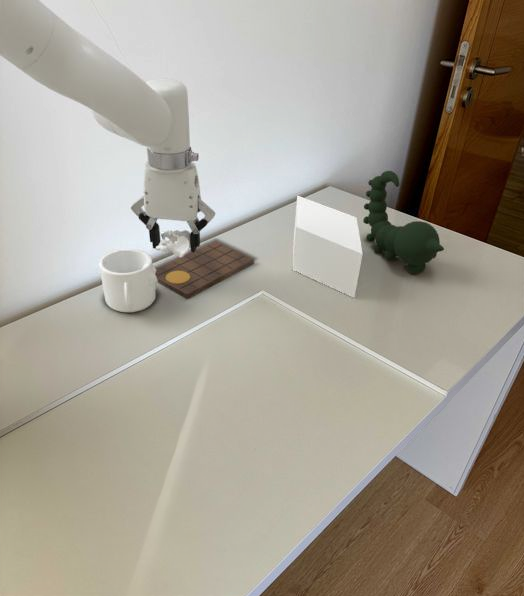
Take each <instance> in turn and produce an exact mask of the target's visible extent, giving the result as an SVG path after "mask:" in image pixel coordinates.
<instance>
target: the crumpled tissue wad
mask: <svg viewBox="0 0 524 596" xmlns="http://www.w3.org/2000/svg"><path fill="white" fill-rule="evenodd" d="M190 234H191V232H190V231H189V230H186V229H184V230H178V229H177V230H176V229H175V230H172V229H167V230H164V231H160V238H161V239H160V240H161V241H160V244H159V245H158V246H156V249H155V250H156V251H162V252H172V254H173V255H176V256H177V258H182V257H183V256H184V255H186V254H188V253H189V250H190V248H191V245H190ZM166 238H167V239H169V240H166Z"/></svg>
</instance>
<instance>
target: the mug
mask: <svg viewBox="0 0 524 596" xmlns="http://www.w3.org/2000/svg"><path fill="white" fill-rule="evenodd" d="M98 267H99V273H100V279H101V285H102V291H103V296H104V300H105V303H106V305H107V306H108V307H109V308H111V309H112V310H114V311H117V312H121V313H137V312H140V311H143V310H145V309H147V308H149V307H150V306H151V305H152V304H153V303H154V302H155V300H156V290H157V286H156V285H157V284H158V280H157V277H156V275H155V273H156V268H157V267H155V265H154V264H153V258H152V256H151V255H150V254H149V253H147V252H146V251H143V250H140V249H135V248H121V249H116V250H112V251H110V252H107V253H106V254H104V255H103V256H102V257H100V259H99V262H98Z"/></svg>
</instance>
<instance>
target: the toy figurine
mask: <svg viewBox="0 0 524 596" xmlns="http://www.w3.org/2000/svg"><path fill="white" fill-rule="evenodd" d="M390 182H392V183H393V184H394V186H395V187H397V188H398V187H400V179H399V176H398V175H397V174H396V173H395V172H394V171H392V170H386V171H383V172H381V174H380V175H377V176H375V177H373V178H372V179H368V182H367V184H368V186H370V190H367V191H366V192H365V196H366V197H367V198H369V200H370V201H369V202H368V203H367V202H366V203H365V204H363V209H364V210H367V211H368V212H369V213H368V215H367V216H365V217H364V218H363V220H362V221H363V223H364V224H366V225H369V226H370V227H371V228H370V233H367V234H366V237H365V239H366V241H367V242H369V243H372V242H374V241H375V244H376V245H375V246H374V248H373V250H374V253H376V254H378V255H380V254H382V253H383V252H384V254H383V255H384V259H385V260H386V261H388V262H391V261H395V260H396V259H397V258H398V259H399V260H400V261H401V262H403V263H404V264H405V265H406V271H407V272H408V273H409V274H413V275H416V274H420V273H422V272H424V271H425V270H426V264H428V263H430V262H431V261H432V260H433V259H436V258H437V255H438V253H439V252H443V251H444V250H445V248H444V246H442V245H441V242H440V241H441V240H440V236H439V234H438V231H437V230H436V228H435V227H434V226H433V225H432V224H430V223H429V222H426V221H420V220H415V221H411V222H409V223H406V224H404V225H402V226H401V225H399V226H396V225H394V224H392V223H391V222H390V221H389V215H388V213H387V208H388V204H387V201H386V198H387V197H388V193H387V190H386V188H387V184H388V183H390Z"/></svg>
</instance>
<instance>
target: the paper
mask: <svg viewBox="0 0 524 596" xmlns="http://www.w3.org/2000/svg"><path fill="white" fill-rule="evenodd" d="M357 218H358V217H357V216H354V215H351V214H348V213H346V212H343V211H340V210H338V209H335V208H332V207H330V206H326V205H324V204H321V203H319V202H316V201H313V200H311V199H308V198H305V197H302V196H300V195H297V196H296V206H295V216H294V227H293V243H294V244H293V243H292V244H293V245H292V246H293V247H292V266H291V267H292V269H291V270H292V271H294V272H296V271H297V272H296V273H298V272H299V274H300V273H301V275H303V276H305V277H307V278H309V279H311V280H313V279H314V280H313V281H315V280H316V281H315V282H318V283H320V284H322V283H323V284H322V285H324V284H325V286H326V285H327V286H326V287H328V286H329V288H331V289H333V288H334V289H333V290H335V289H336V290H335V291H337V290H338V291H337V292H339V291H340V292H339V293H341V292H342V293H341V294H344V293H345V294H344V295H346V294H347V295H346V296H348V295H349V297H350V296H351V297H350V298H352V297H353V298H352V299H355V298H356V292H357V286H358V281H359V275H360V270H361V265H362V260H363V259H362V258H363V249H362V243H361V236H360V231H359V224H358V219H357Z"/></svg>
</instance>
